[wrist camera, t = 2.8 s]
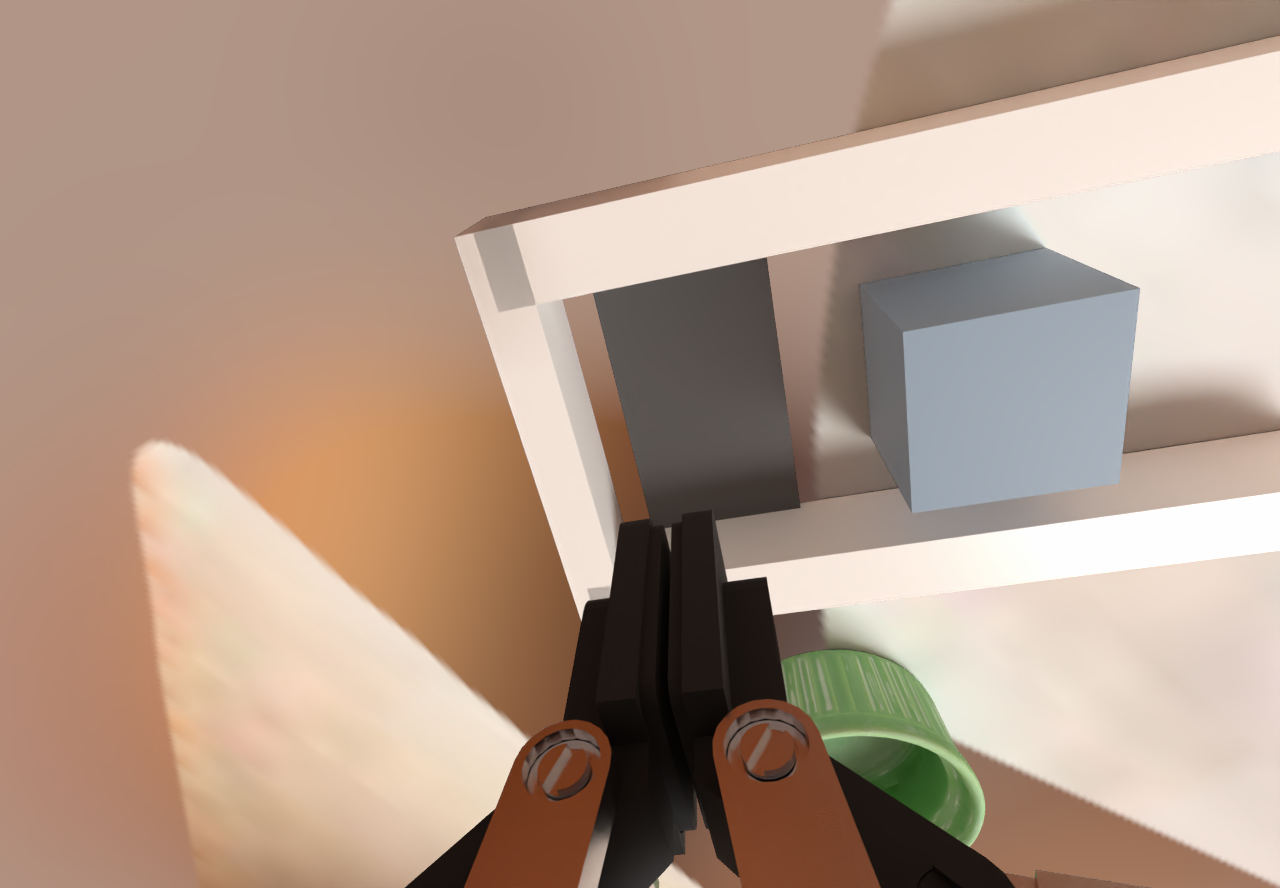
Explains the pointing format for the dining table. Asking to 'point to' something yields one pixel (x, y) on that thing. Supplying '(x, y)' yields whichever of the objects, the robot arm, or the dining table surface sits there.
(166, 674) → the dining table surface
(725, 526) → the channel
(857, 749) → the ramekin
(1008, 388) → the block
